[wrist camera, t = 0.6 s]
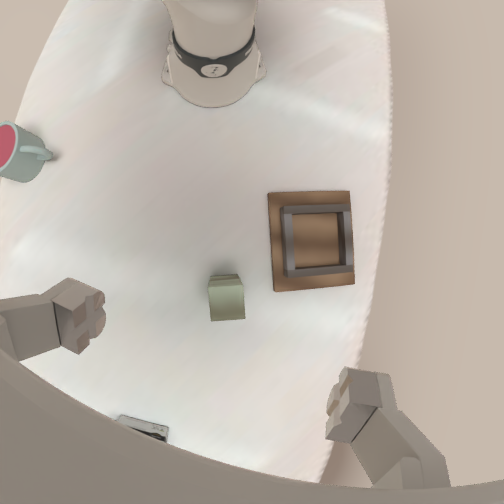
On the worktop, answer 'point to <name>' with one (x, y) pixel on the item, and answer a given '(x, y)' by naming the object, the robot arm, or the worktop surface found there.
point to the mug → (20, 153)
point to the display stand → (311, 239)
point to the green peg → (226, 298)
